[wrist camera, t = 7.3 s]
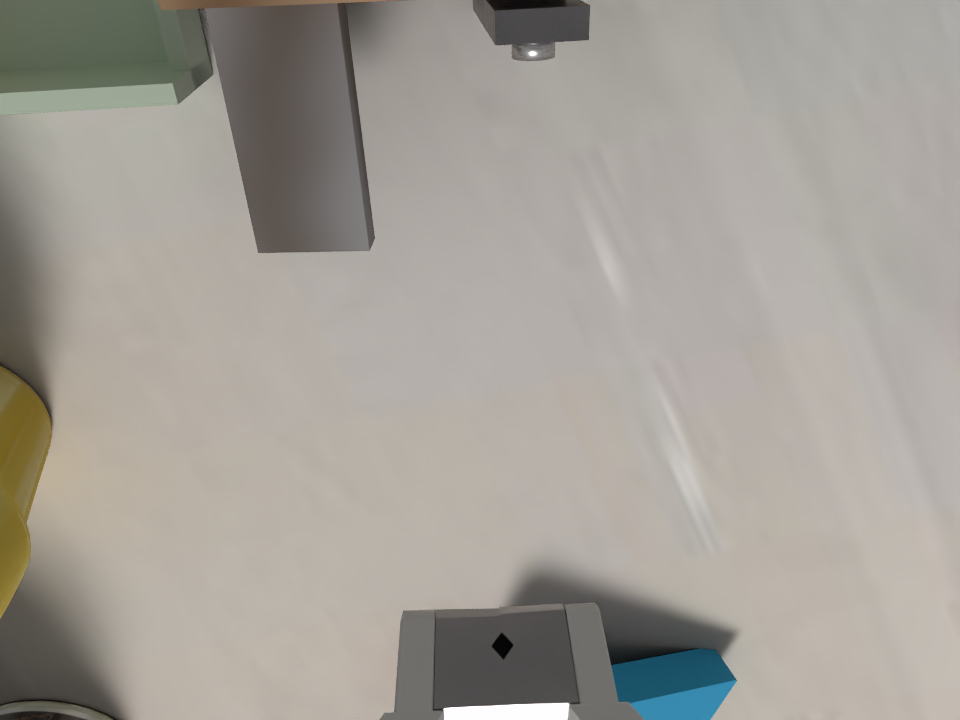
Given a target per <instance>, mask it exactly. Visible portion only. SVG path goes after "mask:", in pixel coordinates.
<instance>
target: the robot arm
mask: <svg viewBox="0 0 960 720" xmlns="http://www.w3.org/2000/svg"><path fill="white" fill-rule="evenodd" d="M380 720H644V719H643V717H642V716H641V715H640V714H639V713H638V712H637V711H636V710H635V709H634V707H633V706H632V705H631V704H630V703H629V702H619V701H618V697H617V692H616V687H615V682H614V677H613V672H612V667H611V663H610V658H609V653H608V648H607V643H606V638H605V634H604V629H603V624H602V619H601V614H600V609H599V607H598V606H597V604H596V603H578V604H564V605H563V604H562V603H560V604H543V605H526V606H509V607H500V608H496V609H444V610H411V611H403V614H402V618H401V623H400V637H399V651H398V665H397V679H396V694H395V708H394V712H391V713H384V714H383V716H382V717H381V719H380Z"/></svg>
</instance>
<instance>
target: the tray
mask: <svg viewBox="0 0 960 720" xmlns="http://www.w3.org/2000/svg"><path fill="white" fill-rule="evenodd" d="M212 75H213V73H212V69H211V64H210V60H209V55H208V51H207V46H206V42H205V38H204V33H203V29H202V24H201V20H200V15H199V11H198V9H180V10H161V7H160V6H159V5H158V1H157V0H0V115H12V114H28V113H45V112H62V111H78V110H95V109H111V108H128V107H145V106H161V105H178V104H179V103H180V102H182V101H183V100H184V99H185V98H186V97H187V96H189V95H190V94H191V93H192V92H193V91H195V90H196V89H197V88H198V87H199V86H200V85H202V84H203V83H204V82H205V81H206V80H208V79H209V78H210V77H211V76H212Z"/></svg>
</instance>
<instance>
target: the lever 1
mask: <svg viewBox="0 0 960 720" xmlns="http://www.w3.org/2000/svg"><path fill="white" fill-rule="evenodd" d="M157 1H158V5H159V6H160V7H161V10H180V9H204V8H205V11H206V16H207V21H208V25H209V30H210V34H211V39H212V43H213V48H214V53H215V57H216V62H217V66H218V71H219V75H220V80H221V85H222V89H223V94H224V98H225V103H226V107H227V112H228V117H229V121H230V126H231V130H232V135H233V139H234V144H235V149H236V153H237V158H238V162H239V167H240V171H241V176H242V181H243V185H244V190H245V194H246V199H247V203H248V208H249V213H250V217H251V222H252V226H253V231H254V235H255V240H256V245H257V249H258V253H278V252H330V251H370V248H371V246H372V244H373V242H374V239H375V236H374V228H373V220H372V212H371V204H370V196H369V188H368V180H367V172H366V164H365V156H364V148H363V140H362V132H361V124H360V116H359V108H358V100H357V92H356V84H355V77H354V69H353V61H352V53H351V45H350V37H349V29H348V21H347V13H346V5H345V3H352V2H377V1H401V0H157Z"/></svg>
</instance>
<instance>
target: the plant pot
mask: <svg viewBox="0 0 960 720" xmlns="http://www.w3.org/2000/svg"><path fill="white" fill-rule="evenodd" d="M51 438H52V426H51V421H50V417H49V414H48V412H47V409H46V407H45V405H44V404H43V402H42V400H41V399H40V397H39V396H38V395H37V394H36V392H35V391H34V390H33V389H32V388H31V387H30V386H29V385H28V384H27V383H26V382H24V381H23V380H22V379H21V378H20V377H18V376H17V375H15V374H14V373H12V372H11V371H9V370H8V369H6V368H4V367H2V366H0V619H1V617H2V615H3V613H4V612H5V610H6V608H7V606H8V605H9V603H10V601H11V599H12V597H13V595H14V594H15V592H16V590H17V588H18V586H19V584H20V582H21V580H22V578H23V575H24V573H25V571H26V568H27V566H28V563H29V559H30V552H31V543H30V534H29V530H28V527H27V523H26V522H27V519H28V516H29V512H30V509H31V506H32V502H33V499H34V496H35V492H36V489H37V486H38V483H39V480H40V476H41V473H42V470H43V467H44V464H45V460H46V457H47V454H48V450H49V447H50V443H51Z"/></svg>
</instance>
